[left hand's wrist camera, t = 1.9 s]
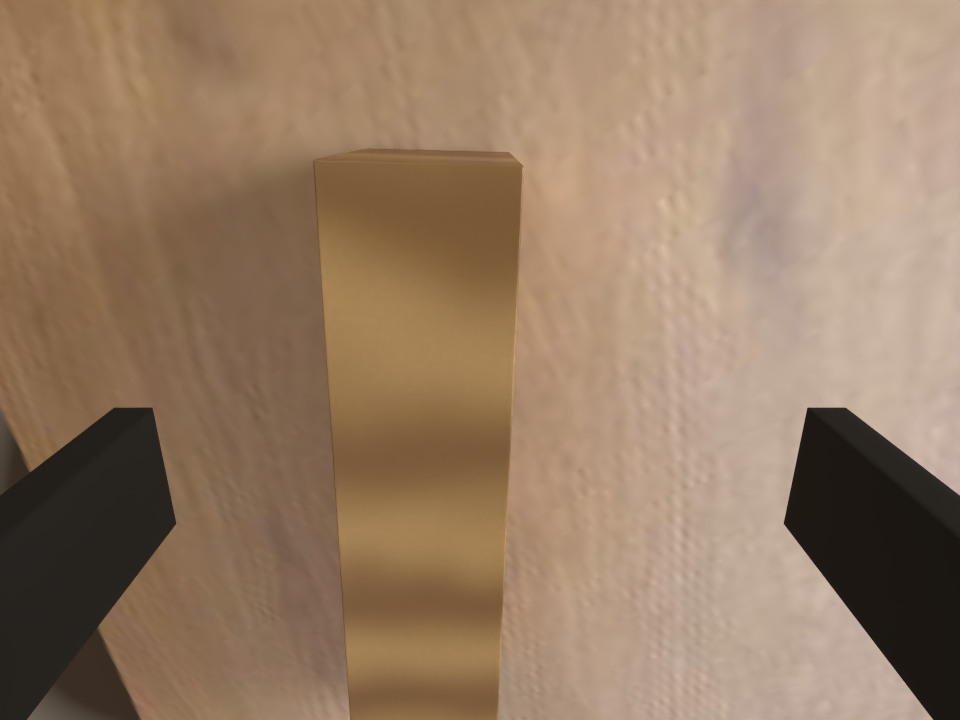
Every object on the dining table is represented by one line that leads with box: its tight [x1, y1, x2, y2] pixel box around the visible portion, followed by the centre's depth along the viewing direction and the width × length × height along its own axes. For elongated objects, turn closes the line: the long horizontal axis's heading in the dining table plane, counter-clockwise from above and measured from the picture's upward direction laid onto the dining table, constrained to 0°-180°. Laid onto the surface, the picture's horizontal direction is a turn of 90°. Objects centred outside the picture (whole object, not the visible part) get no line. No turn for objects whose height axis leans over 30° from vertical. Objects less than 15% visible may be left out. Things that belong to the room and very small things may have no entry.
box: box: [313, 149, 524, 720], centre depth 26 cm, size 28×6×9 cm, turn 179°
